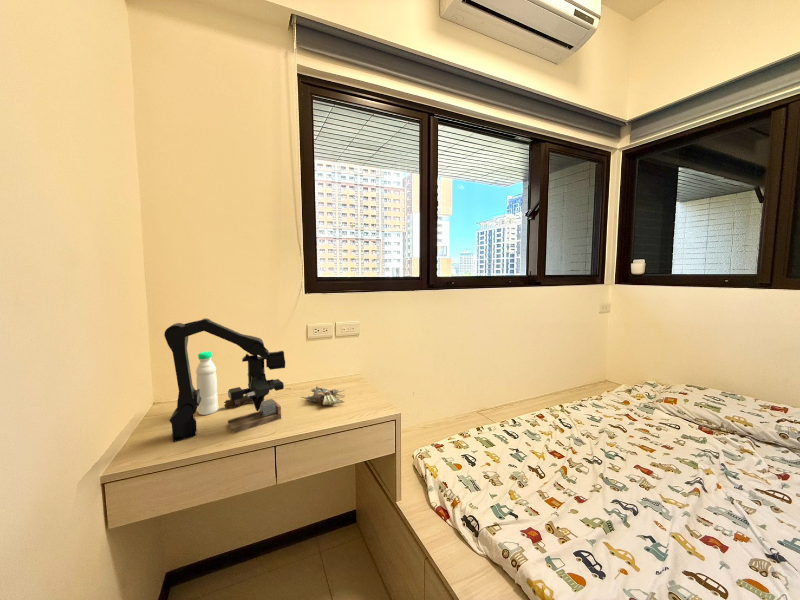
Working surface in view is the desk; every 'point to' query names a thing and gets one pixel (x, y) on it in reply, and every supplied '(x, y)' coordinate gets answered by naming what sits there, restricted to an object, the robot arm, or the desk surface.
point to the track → (252, 420)
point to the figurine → (325, 396)
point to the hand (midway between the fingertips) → (257, 410)
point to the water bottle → (207, 384)
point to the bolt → (237, 402)
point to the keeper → (267, 408)
